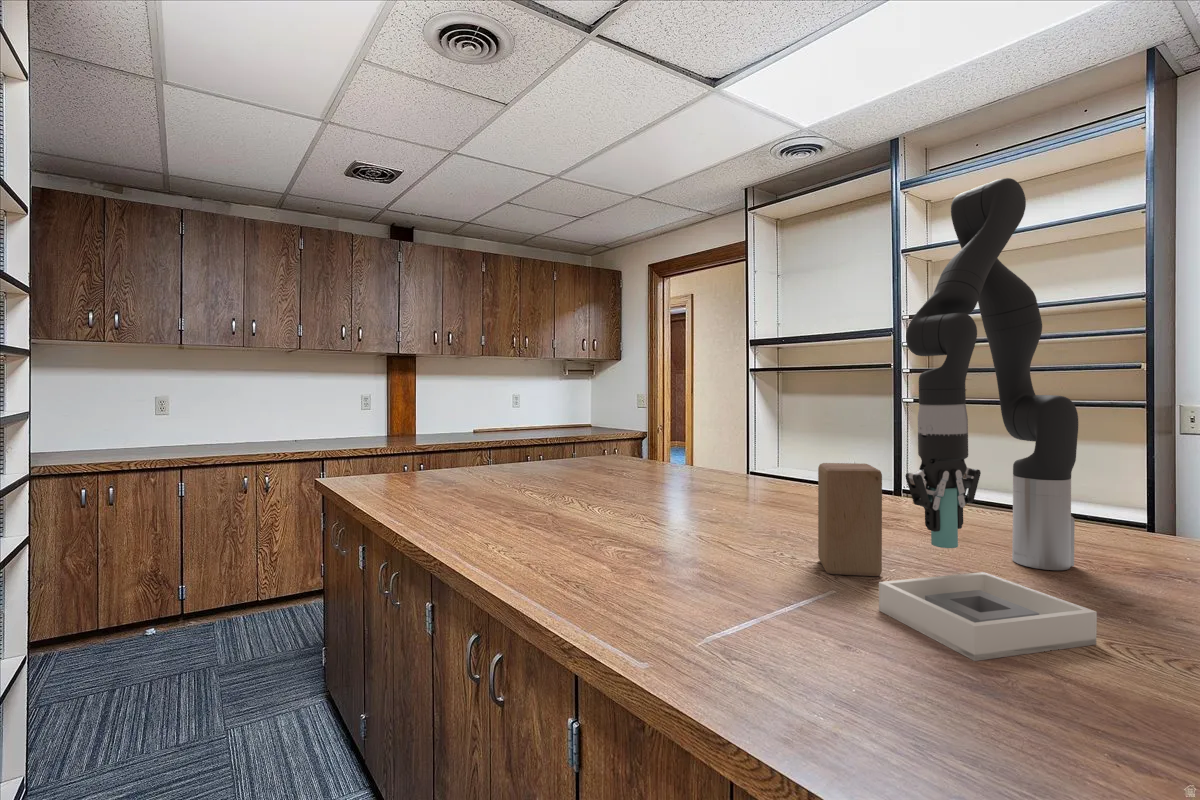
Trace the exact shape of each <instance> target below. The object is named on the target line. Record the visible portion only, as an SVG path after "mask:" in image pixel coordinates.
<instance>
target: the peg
mask: <svg viewBox="0 0 1200 800" xmlns="http://www.w3.org/2000/svg"><path fill="white" fill-rule="evenodd" d="M930 489H931V491H936V489H934V488H931V487H930ZM932 498H933V496H931V502H932ZM938 510H940V531H937V532H934V531H931V530H930V536H931V537H930V540H931V546H934V547H937V548H943V549H956V548H958V547H959V533H958V532H959V529H958V517H957V488H949V489H945V491H944V496H943V497H941V499H940V504H939V508H938Z"/></svg>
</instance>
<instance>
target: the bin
mask: <svg viewBox="0 0 1200 800" xmlns="http://www.w3.org/2000/svg"><path fill="white" fill-rule="evenodd" d="M878 611H879V612H881V613H883V614H885V615H887V616H889V617H891V618H893V619H894V620H895V621H898V622H900V623H902V624H904V625H905V626H907V627H909V628H911V629H913V630H915V631H916V632H918V633H921V634H922V635H924V636H926V637H928V638H930V639H932V640H934V641H935V642H938V643H939V644H941V645H944V646H945V647H947V648H949V649H950V650H952V651H954V652H957V653H958V654H960V655H962V656H963V657H966V658H968V659H970V660H971V661H973V662H977V661H978V662H979V661H984V660H985V661H986V660H991V659H999V658H1006V657H1007V658H1008V657H1014V656H1022V655H1028V654H1037V653H1043V652H1044V651H1045V652H1051V651H1050V650H1052V651H1059V650H1065V649H1072V648H1080V647H1088V646H1095V645H1097V621H1098V620H1097V614H1098V613H1097V612H1098V611H1096V610H1093V609H1090V608H1087V607H1085V606H1082V605H1078V604H1076V603H1072V602H1070V601H1067V600H1065V599H1061V598H1059V597H1055V596H1054V595H1051V594H1047V593H1044V592H1042V591H1038V590H1036V589H1033V588H1030V587H1027V586H1024V585H1021V584H1019V583H1017V582H1014V581H1010V580H1008V579H1005V578H1001V577H999V576H997V575H996V576H995V575H993V574H991V573H987V572H984V571H981V572H971V573H970V572H969V573H962V574H961V573H959V574H950V575H949V574H948V575H939V576H929V577H918V578H917V577H916V578H907V579H896V580H887V581H879V582H878ZM1058 649H1059V650H1058Z"/></svg>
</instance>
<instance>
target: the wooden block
mask: <svg viewBox="0 0 1200 800" xmlns="http://www.w3.org/2000/svg"><path fill="white" fill-rule="evenodd" d="M817 470H818V473H817V476H818V477H817V483H818V484H817V485H818V486H817V488H818V489H817V490H818V491H817V494H818V495H817V499H818V500H817V501H818V503H817V504H818V509H817V512H818V513H817V516H818V517H817V518H818V519H817V521H818V522H817V525H818V527H817V531H818V534H817V535H818V536H817V540H818V541H817V543H818V545H817V549H818V552H817V557H818V560H819V561H820V563H821V565H822V567H823V569H824V570H825V572H826V573H827V574H830V575H838V576H839V575H841V576H843V575H844V576H861V577H863V576H864V577H878V576H881V574H882V571H883V561H882V560H883V559H882V558H883V504H882V503H883V474H882V471H881V470H880V469H878V468H876V467H874V466H872V465H870V464H869V463H857V462H856V463H851V462H850V463H849V462H848V463H847V462H846V463H845V462H844V463H843V462H841V463H840V462H823V463H819V466H818V468H817Z"/></svg>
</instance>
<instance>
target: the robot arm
mask: <svg viewBox="0 0 1200 800" xmlns="http://www.w3.org/2000/svg"><path fill="white" fill-rule="evenodd" d="M1026 205H1027V202H1026V194H1025V192H1024V189H1023V187H1022V186H1021V184H1020V183H1019V182H1018V181H1017V180H1016V179H1013V178H1010V177H1003V178H999V179H995V180H993V181H990V182H987V183H985V184H982V185H979V186H976V187H974V188H972V189H969V190H965V191H964V192H961V193H958V194H957V195H956V196H954V198H953V199H952V201H951V204H950V215H951V220H952V226H953V229H954V231H955V234H956V235H955V236H956V237H957V240H958V242H959V245H960V250H959V251H958V252H956V254H955V255H954V256H953V257H952V258H951V259H950V260H949V261H948V263H947V264H946V266H945V267H944V269H943V270H942V272H941V275H940V277H939V279H938V281H937V283H936V286H935V289H934V291H933V294H932V295H931V296H930V297H929V298H928V299H927V300H926V301H925V302H924V304H923V305H922V306H921V307H920V308H919V309H918V310H917V312H916V313H915V314H914V316H913V317H912V318H911V320H910V321H909V324H908V326H907V328H906V333H905V342H906V346H907V348H908V350H909V351H910V352H911V353H912V354H913V355H915V356H918V357H935V356H946V357H945V360H944V362H943V363H942V365H941V366H940V367H938V368H934V369H928V370H926V371H923V372H921V373H920V375H919V377H918V412H917V451H918V453H917V454H918V456H919V458H920V460H921V462H920V465H919V468H918V469H919V470H916V471H914V472H907V473H906V474H905V479H906V483H907V485H908V489H909V492H910V495H911V499H912V502H913V504H914V505H916V506H920V507H923V509H924V526H925V527H926V528H927V530H928V531H930V532H931V531H934V532H937V531H940V510H938V508H939V504H940V499H941V497H943V496H944V491H945V489H949V488H957V517H958V530H961V529H962V528H963V524H964V508H965V506H966V505H967V504H972V503H973V502H974V501H975V496H976V492H977V489H978V485H979V481H980V478H981V470H980V469H977V468H970V467H967V464H966V462H965V460H966V459H968V457H969V426H968V425H969V419H968V411H967V399H966V390H967V389H966V380H967V374H968V370H969V366H970V362H971V358H972V355H973V353H974V350H975V346H976V343H977V340H978V339H977V337H978V327H977V324H976V322H975V320H974V319H973V318H972V316H970V314H971V313H973V311H974V310H975V309H976V307H977V305H978V307H979V308H978V309H979V312H980V317H981V322H982V325H983V329H984V333H985V336H986V339H987V342H988V346H989V349H990V353H991V359H992V364H993V367H994V372H995V376H996V382H997V389H998V390H997V391H998V398H999V407H1000V412H1001V417H1002V421H1003V424H1004V427H1005V429H1006V431H1007V433H1009V435H1010V436H1011V437H1013V438H1014V439H1016V440H1019V441H1024V442H1025V441H1027V442H1035V445H1034V450H1033V452H1032V454H1030V455H1029V456H1027V457H1023V458H1020V459H1017V460H1015V461H1014V462H1013V465H1012V541H1011V542H1012V548H1011V549H1012V551H1011V552H1012V553H1011V554H1012V556H1011V558H1012V561H1013V562H1014V563H1016V564H1018V565H1021V566H1023V567H1028V568H1033V569H1039V570H1046V571H1047V570H1048V571H1049V570H1050V571H1066V570H1070V569H1071V567H1075V528H1076V527H1075V524H1076V522H1075V517H1073V516H1072V473H1073V472H1072V471H1073V469H1074V466H1075V463H1076V461H1077V450H1078V449H1077V447H1078V439H1079V437H1078V436H1079V435H1078V434H1079V414H1078V410H1077V407H1076V405H1075V403H1074V401H1072V399H1070V398H1068V397H1067V396H1064V395H1058V394H1057V395H1053V394H1052V395H1051V394H1049V395H1047V394H1045V395H1044V394H1036V392H1035V389H1034V387H1033V386H1034V385H1033V383H1032V377H1031V364H1032V360H1033V357H1034V356H1035V352H1036V350H1037V347H1038V345H1039V342H1040V341H1041V340H1040V339H1041V336H1042V333H1043V322H1042V321H1043V320H1042V315H1041V311H1040V309H1039V304H1038V299H1037V297H1036V295H1035V292H1034V291H1033V290H1032V289H1031V287H1030V285H1028V284H1027V283H1026V282H1025V281H1024V280H1023V279H1021V278H1020V277H1019V276H1018V275H1017V274H1016V273H1015V272H1013V271H1012V270H1011V269H1009V268H1008V267H1007V266H1005V264H1004V263H1002V262H1001V261H1000V259H999V258H998V257H999V256H1000V255H1001V253H1002V252H1003V250H1004V249H1005V247H1006V246H1007V244H1008V242H1009V240H1011V237H1012V236H1013V235H1014V233H1015V232H1016V230H1017V229H1018V226H1019V225H1020V223H1021V221H1022V220H1023V217H1024V215H1025V211H1026V207H1027V206H1026ZM930 487H931V488H934V489H936V491H931V489H930ZM967 489H968V490H967ZM931 496H933V498H932V502H931Z"/></svg>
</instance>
